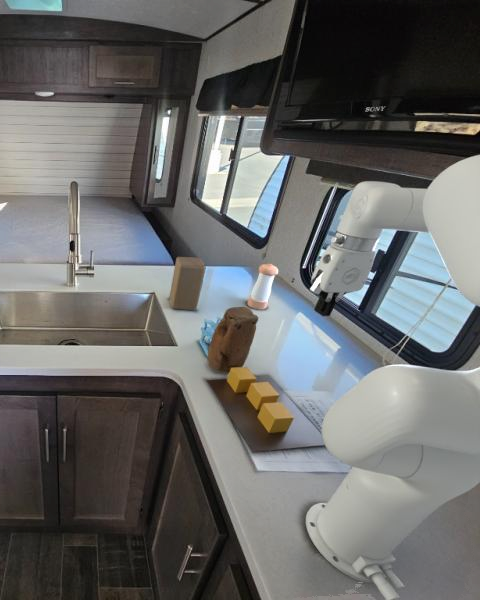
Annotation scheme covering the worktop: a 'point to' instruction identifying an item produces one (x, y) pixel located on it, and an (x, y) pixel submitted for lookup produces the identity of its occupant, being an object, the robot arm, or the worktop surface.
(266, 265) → the pepper shaker
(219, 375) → the worktop surface
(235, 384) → the ochre block
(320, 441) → the mat
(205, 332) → the light blue crumpled piece
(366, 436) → the robot arm
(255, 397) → the ochre block
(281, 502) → the worktop surface
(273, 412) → the ochre block
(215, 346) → the brown rounded lump
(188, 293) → the wooden block
